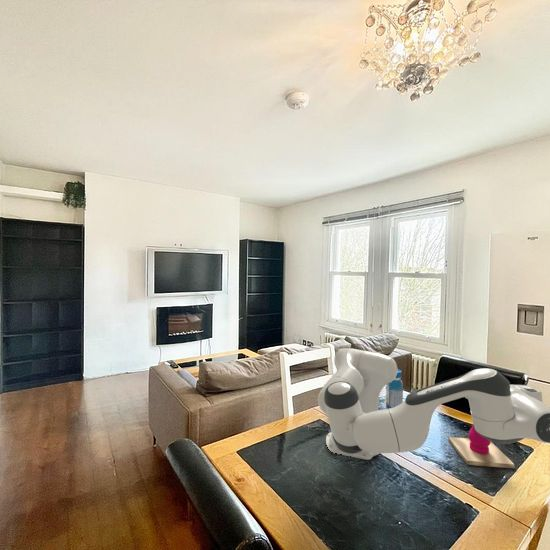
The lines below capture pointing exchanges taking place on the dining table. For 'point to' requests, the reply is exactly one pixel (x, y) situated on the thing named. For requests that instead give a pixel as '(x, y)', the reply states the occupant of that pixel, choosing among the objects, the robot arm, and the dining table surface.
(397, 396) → the beverage bottle
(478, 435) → the pepper mill
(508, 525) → the dining table surface
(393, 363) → the robot arm
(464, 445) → the oak board
